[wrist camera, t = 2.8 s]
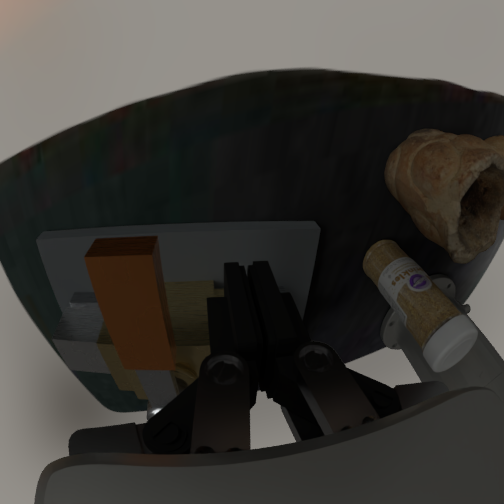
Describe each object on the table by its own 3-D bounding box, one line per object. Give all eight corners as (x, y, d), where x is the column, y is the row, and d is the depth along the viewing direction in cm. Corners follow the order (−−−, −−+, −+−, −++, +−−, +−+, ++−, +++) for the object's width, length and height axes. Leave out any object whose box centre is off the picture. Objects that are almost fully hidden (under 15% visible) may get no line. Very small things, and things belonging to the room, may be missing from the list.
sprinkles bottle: (392, 229, 25) (483, 320, 14) (400, 261, 27) (476, 349, 16) (355, 253, 26) (434, 359, 14) (366, 283, 28) (433, 382, 17)
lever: (197, 414, 17) (198, 437, 16) (153, 414, 17) (152, 436, 15) (165, 235, 10) (158, 262, 9) (89, 238, 10) (71, 265, 8)
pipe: (473, 199, 25) (533, 239, 16) (366, 218, 24) (433, 282, 16) (480, 125, 20) (551, 152, 12) (366, 118, 19) (456, 143, 11)
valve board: (314, 221, 23) (320, 228, 22) (290, 348, 31) (293, 358, 30) (43, 231, 20) (35, 239, 18) (90, 352, 28) (87, 362, 27)
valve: (290, 276, 24) (327, 363, 16) (281, 333, 28) (305, 413, 20) (67, 283, 21) (27, 363, 13) (89, 337, 25) (67, 413, 17)
